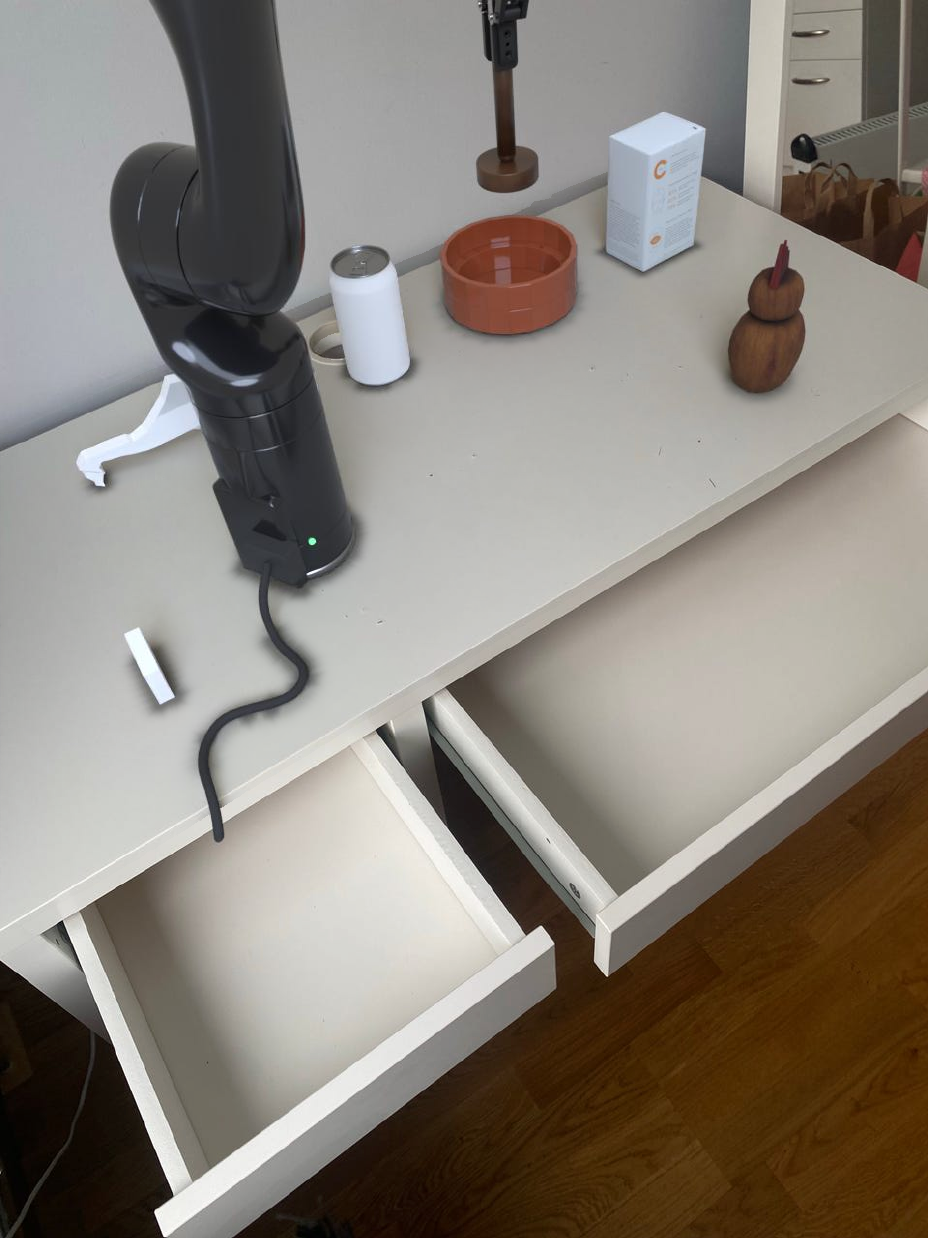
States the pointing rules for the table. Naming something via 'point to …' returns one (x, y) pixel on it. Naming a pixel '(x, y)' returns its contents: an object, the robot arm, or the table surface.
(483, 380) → the table surface
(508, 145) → the brown post on disc
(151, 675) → the eraser
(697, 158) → the small box
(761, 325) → the wooden figurine
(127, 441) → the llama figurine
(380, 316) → the can
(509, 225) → the bowl
